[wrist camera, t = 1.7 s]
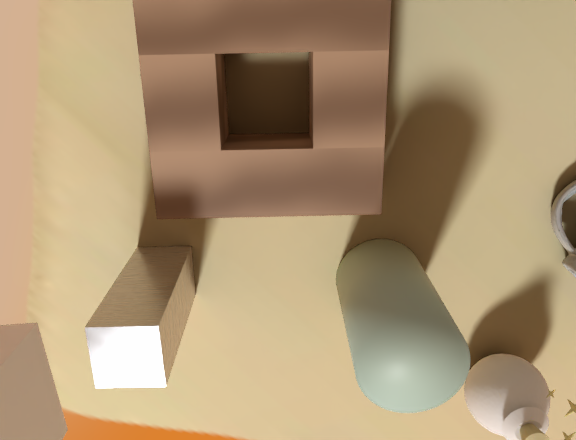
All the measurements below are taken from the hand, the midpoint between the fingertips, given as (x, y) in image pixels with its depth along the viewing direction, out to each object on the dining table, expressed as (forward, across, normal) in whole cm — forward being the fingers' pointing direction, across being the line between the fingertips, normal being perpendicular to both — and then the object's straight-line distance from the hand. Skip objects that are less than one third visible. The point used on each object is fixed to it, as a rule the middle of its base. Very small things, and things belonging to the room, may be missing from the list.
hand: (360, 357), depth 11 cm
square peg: (+26, -12, -10) cm, 30 cm away
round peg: (+26, +4, -12) cm, 29 cm away
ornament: (+27, +14, -21) cm, 37 cm away
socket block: (+26, -3, +2) cm, 27 cm away
